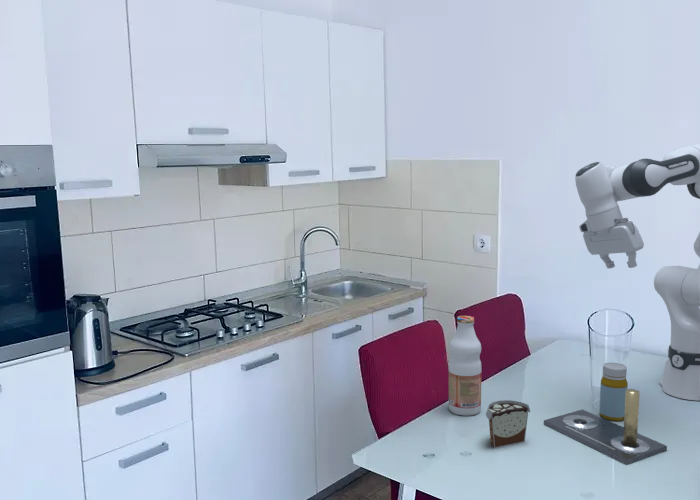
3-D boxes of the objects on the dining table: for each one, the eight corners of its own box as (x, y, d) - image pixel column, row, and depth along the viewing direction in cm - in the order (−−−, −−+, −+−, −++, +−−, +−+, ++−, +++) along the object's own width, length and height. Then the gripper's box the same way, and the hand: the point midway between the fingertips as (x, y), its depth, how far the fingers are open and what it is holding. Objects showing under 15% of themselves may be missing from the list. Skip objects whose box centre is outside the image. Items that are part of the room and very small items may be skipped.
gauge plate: (582, 413, 185) (584, 361, 183) (666, 450, 161) (670, 391, 159) (543, 424, 178) (545, 371, 176) (626, 464, 154) (629, 403, 152)
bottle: (628, 422, 178) (631, 370, 176) (601, 420, 180) (604, 369, 177) (623, 412, 185) (625, 362, 183) (597, 411, 186) (599, 361, 184)
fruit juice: (441, 410, 189) (442, 317, 185) (460, 401, 195) (461, 311, 191) (468, 419, 182) (470, 323, 178) (487, 409, 189) (488, 317, 185)
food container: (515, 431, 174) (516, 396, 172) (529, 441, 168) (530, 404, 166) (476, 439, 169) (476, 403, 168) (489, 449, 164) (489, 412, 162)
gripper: (639, 213, 169) (656, 262, 170) (593, 220, 189) (608, 264, 189) (620, 221, 168) (637, 270, 168) (575, 227, 187) (591, 271, 188)
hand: (621, 267), depth 179 cm, fingers open, 8 cm apart
